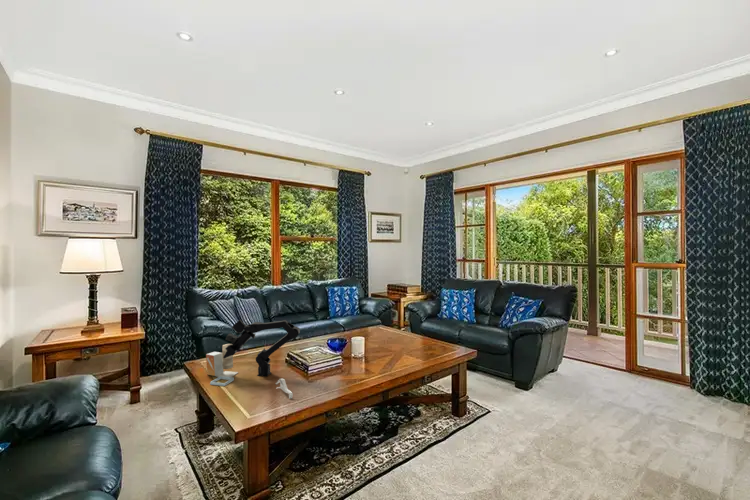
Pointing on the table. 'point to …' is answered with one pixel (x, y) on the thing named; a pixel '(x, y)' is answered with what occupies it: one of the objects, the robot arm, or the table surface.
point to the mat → (228, 374)
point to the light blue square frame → (222, 383)
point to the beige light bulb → (227, 358)
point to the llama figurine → (284, 387)
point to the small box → (214, 363)
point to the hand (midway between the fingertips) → (225, 356)
